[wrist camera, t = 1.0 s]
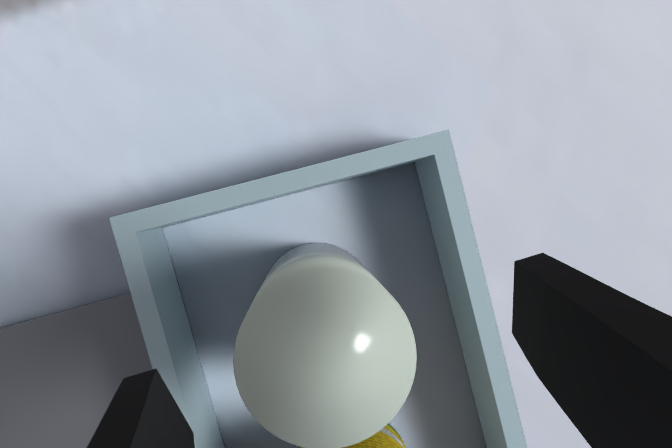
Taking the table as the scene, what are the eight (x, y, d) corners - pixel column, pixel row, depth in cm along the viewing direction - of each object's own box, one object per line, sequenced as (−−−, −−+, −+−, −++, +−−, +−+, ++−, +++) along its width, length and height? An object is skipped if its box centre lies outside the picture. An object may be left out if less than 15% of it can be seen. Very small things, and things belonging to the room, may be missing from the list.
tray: (514, 493, 24) (550, 543, 20) (242, 574, 23) (231, 640, 20) (426, 141, 23) (449, 129, 19) (139, 215, 22) (108, 217, 19)
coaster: (209, 514, 23) (206, 522, 22) (-26, 582, 22) (-35, 593, 22) (144, 289, 22) (140, 291, 22) (-100, 354, 22) (-111, 358, 21)
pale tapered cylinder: (385, 336, 23) (436, 420, 14) (278, 365, 23) (260, 471, 14) (357, 230, 23) (391, 247, 14) (248, 259, 23) (211, 296, 14)
